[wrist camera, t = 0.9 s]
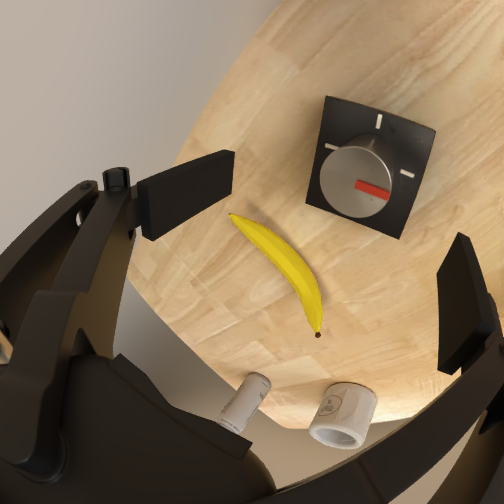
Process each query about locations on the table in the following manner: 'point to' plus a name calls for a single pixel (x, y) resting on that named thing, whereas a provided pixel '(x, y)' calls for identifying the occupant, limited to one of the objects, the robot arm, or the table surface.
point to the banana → (286, 266)
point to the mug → (344, 416)
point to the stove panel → (404, 148)
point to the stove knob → (359, 176)
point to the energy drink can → (244, 403)
